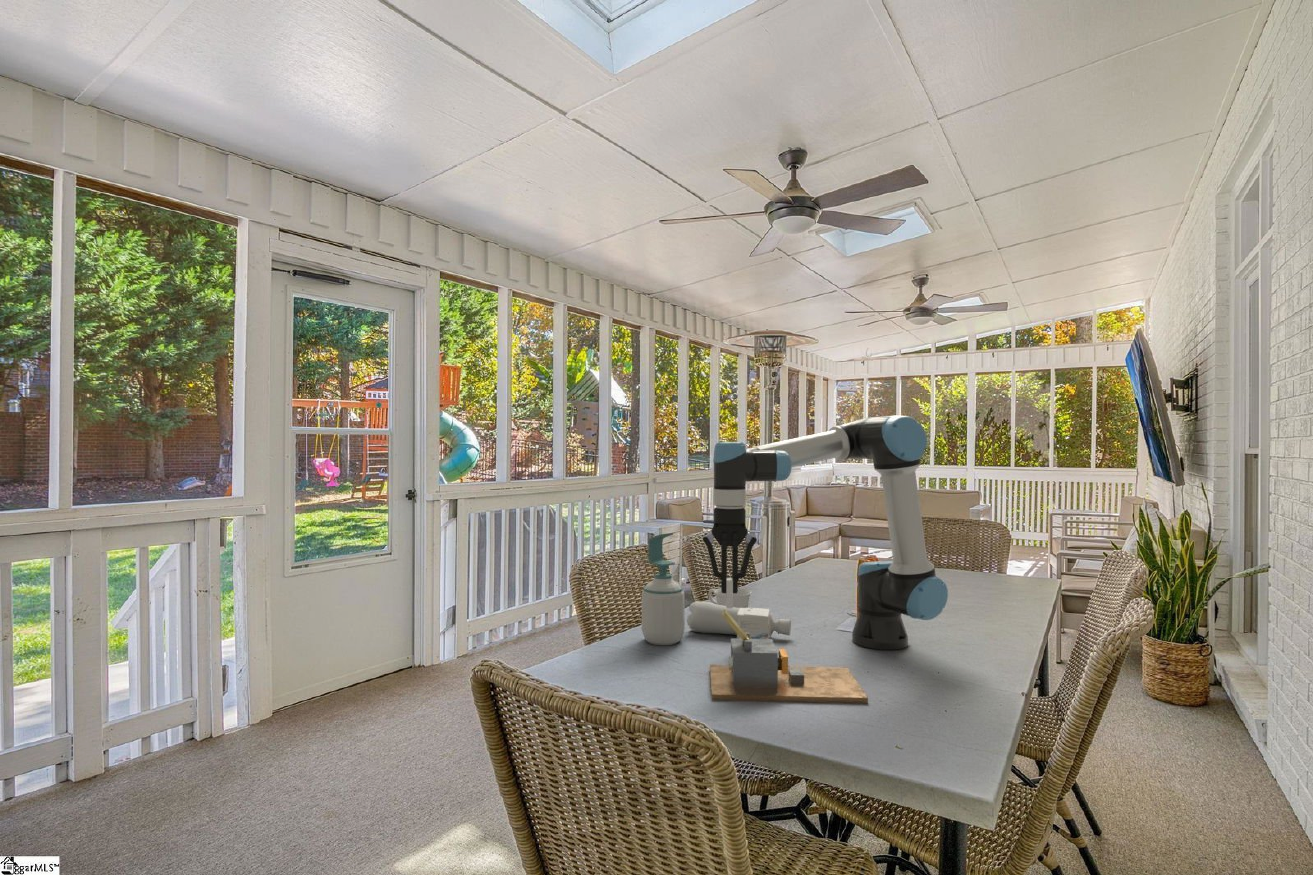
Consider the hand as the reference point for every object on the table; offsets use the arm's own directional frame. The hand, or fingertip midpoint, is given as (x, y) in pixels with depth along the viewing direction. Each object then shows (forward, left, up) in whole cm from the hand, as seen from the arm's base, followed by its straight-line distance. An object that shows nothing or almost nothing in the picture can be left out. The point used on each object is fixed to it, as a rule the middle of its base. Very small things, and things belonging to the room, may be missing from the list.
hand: (729, 606), depth 157 cm
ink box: (-8, -23, -19) cm, 31 cm away
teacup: (-3, -56, -18) cm, 59 cm away
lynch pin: (-7, 0, -15) cm, 16 cm away
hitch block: (-13, 0, -18) cm, 22 cm away
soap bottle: (+17, -34, -18) cm, 42 cm away
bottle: (-5, -41, -19) cm, 45 cm away
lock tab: (-1, 0, -5) cm, 5 cm away
